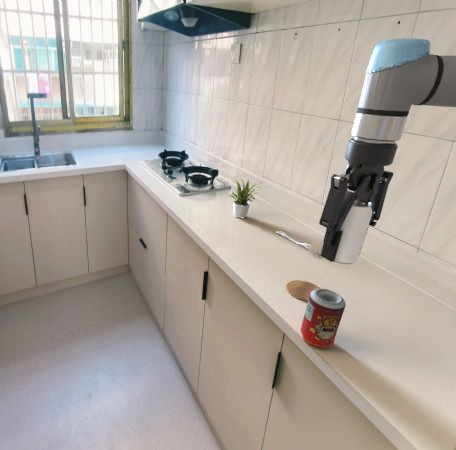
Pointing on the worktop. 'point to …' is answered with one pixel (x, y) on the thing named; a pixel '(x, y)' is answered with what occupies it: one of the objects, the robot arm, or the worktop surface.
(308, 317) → the soda can
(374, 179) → the robot arm
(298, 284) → the cork coaster
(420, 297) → the worktop surface
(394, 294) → the worktop surface
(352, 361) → the worktop surface
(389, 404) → the worktop surface
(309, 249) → the fork
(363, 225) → the can
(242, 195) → the house plant
